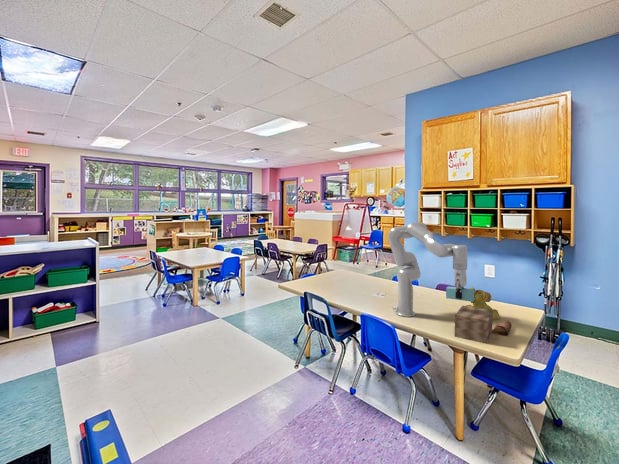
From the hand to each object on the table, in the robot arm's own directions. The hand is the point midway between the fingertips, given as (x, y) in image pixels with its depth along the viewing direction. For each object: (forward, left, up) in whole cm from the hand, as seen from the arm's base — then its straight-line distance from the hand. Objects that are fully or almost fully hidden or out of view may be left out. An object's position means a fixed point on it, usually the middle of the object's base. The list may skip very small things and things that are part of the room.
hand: (459, 297), depth 175 cm
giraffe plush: (+6, +34, -21) cm, 40 cm away
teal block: (0, 0, -1) cm, 1 cm away
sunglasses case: (+20, +17, -21) cm, 33 cm away
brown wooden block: (+8, 0, -20) cm, 22 cm away
